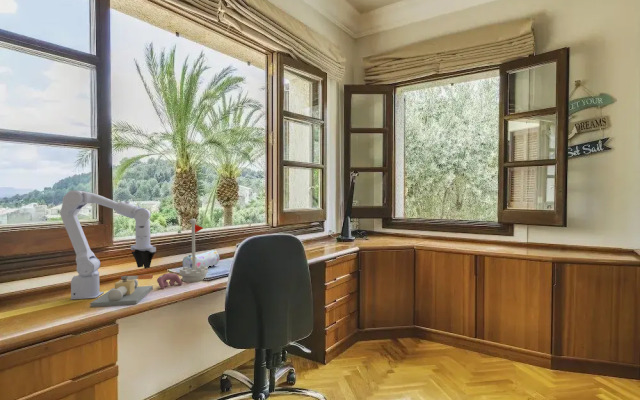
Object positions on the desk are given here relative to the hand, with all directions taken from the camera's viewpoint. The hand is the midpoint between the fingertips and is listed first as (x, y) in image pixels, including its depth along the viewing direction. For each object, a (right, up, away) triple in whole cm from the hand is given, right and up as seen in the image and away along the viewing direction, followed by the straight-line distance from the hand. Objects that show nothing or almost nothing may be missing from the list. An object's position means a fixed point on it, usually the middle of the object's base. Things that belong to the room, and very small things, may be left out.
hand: (143, 267), depth 154 cm
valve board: (-4, -11, -7) cm, 13 cm away
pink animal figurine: (+7, -11, +9) cm, 16 cm away
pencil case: (+9, -10, +46) cm, 48 cm away
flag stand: (+14, -10, +23) cm, 28 cm away
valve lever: (0, -3, -7) cm, 7 cm away
